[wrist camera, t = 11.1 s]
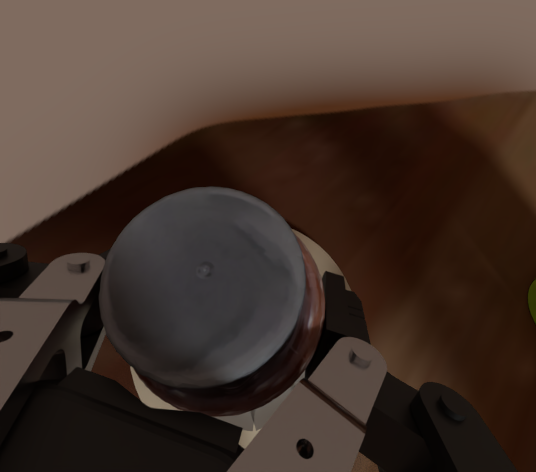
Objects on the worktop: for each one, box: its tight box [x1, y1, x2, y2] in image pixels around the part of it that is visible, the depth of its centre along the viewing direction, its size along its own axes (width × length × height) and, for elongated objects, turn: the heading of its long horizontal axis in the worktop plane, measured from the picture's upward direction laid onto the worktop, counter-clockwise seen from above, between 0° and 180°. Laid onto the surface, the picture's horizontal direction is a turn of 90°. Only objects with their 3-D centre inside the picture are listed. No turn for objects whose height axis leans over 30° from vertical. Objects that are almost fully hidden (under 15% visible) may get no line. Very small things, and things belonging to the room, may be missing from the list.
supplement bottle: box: [99, 186, 325, 417], centre depth 10 cm, size 6×6×11 cm
